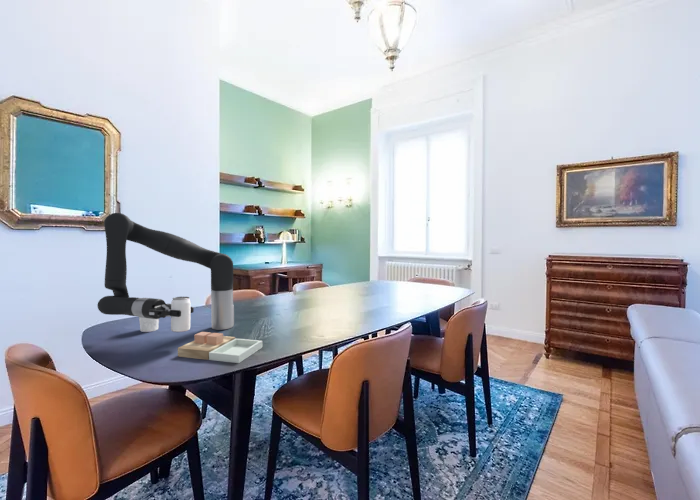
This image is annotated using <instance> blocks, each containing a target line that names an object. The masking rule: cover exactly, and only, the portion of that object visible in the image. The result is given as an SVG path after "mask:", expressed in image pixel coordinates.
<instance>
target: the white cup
mask: <svg viewBox="0 0 700 500" xmlns="http://www.w3.org/2000/svg"><path fill="white" fill-rule="evenodd" d="M138 321H139V330H140V332H143V333H150V332H151V333H152V332H155V331H157V330H159V325H160V324H159V323H160V318H159V319H150V318H141V317H138Z"/></svg>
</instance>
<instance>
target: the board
mask: <svg viewBox="0 0 700 500" xmlns="http://www.w3.org/2000/svg"><path fill="white" fill-rule="evenodd" d="M234 339H236V336H230V335H229V336H227V335H226V336H225V335H223V342H222V343H220V344H218V345H210V344H207V343H205V344H200V343H195V339H194V340H192V341H190V342H188V343H185V344H183V345H181V346H178V347H177V358H179V357H180V358H188V359H198V360H205V361H210V360H209V352H211V351H213V350H215V349H217V348H219V347H220V346H222V345H224V344H226V343H228V342H230V341H232V340H234Z"/></svg>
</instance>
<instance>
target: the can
mask: <svg viewBox="0 0 700 500" xmlns="http://www.w3.org/2000/svg"><path fill="white" fill-rule="evenodd" d="M191 302H192V301H191V300H190V297H189V296H175V297H172V300H171V302H170V304H171V310H180V311H181V316H180V317H174V316H170V330H171V332H173V333H184V332H188V331H190V329H191V315H192V313H191V307H192V306H191Z"/></svg>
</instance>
